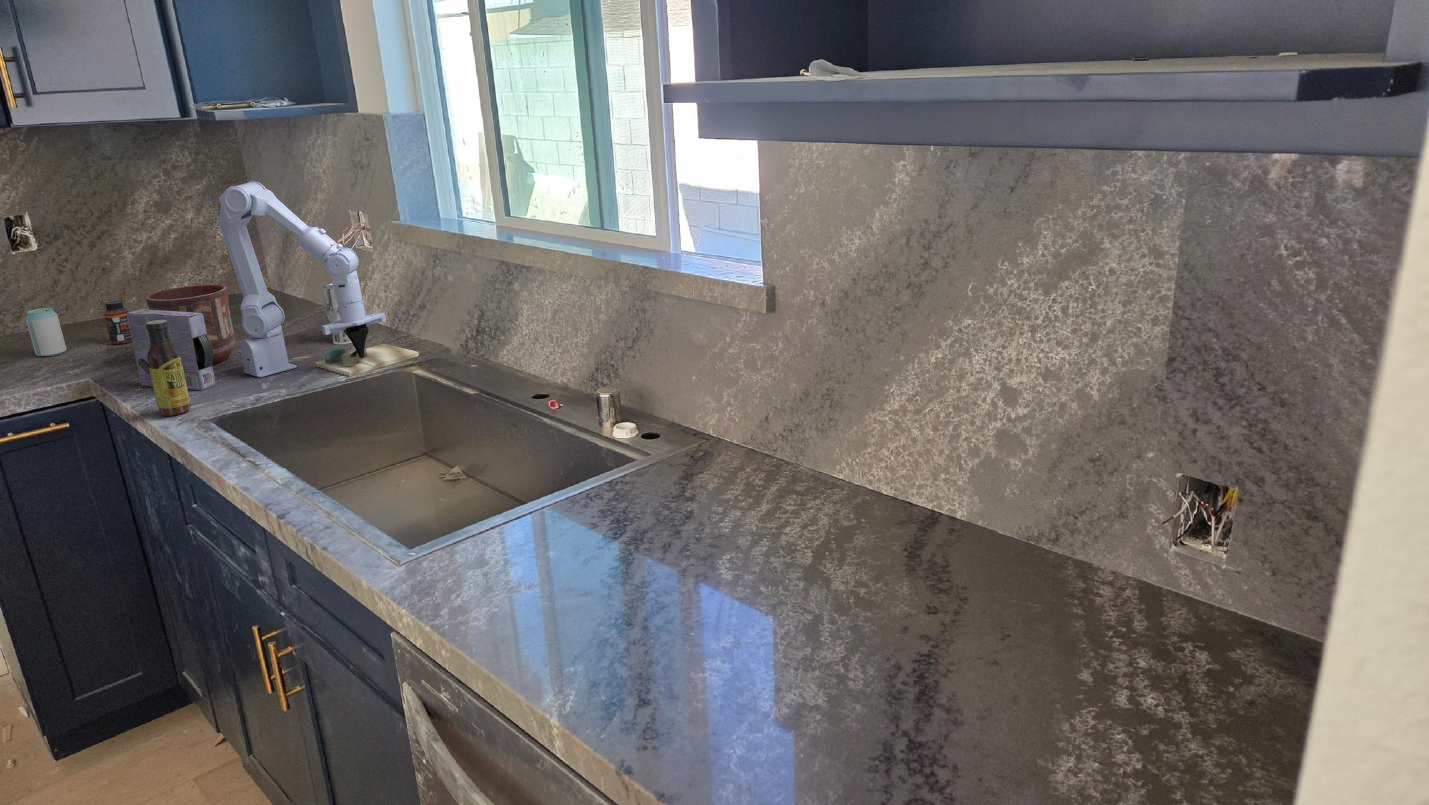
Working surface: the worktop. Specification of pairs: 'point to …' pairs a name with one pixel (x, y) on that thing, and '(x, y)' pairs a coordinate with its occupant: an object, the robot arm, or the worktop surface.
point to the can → (45, 332)
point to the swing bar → (352, 357)
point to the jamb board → (365, 359)
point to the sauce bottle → (166, 371)
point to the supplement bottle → (117, 323)
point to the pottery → (203, 301)
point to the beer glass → (333, 313)
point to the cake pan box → (175, 345)
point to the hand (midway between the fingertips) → (361, 356)
